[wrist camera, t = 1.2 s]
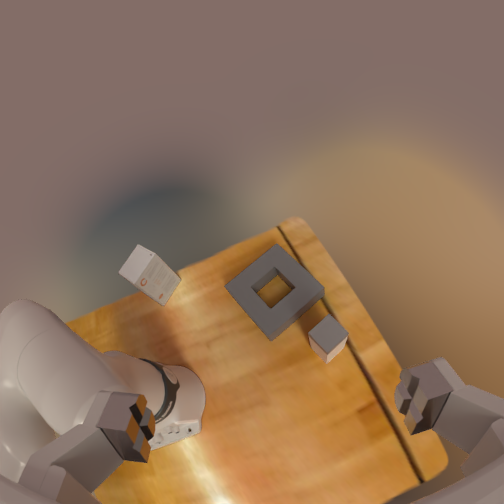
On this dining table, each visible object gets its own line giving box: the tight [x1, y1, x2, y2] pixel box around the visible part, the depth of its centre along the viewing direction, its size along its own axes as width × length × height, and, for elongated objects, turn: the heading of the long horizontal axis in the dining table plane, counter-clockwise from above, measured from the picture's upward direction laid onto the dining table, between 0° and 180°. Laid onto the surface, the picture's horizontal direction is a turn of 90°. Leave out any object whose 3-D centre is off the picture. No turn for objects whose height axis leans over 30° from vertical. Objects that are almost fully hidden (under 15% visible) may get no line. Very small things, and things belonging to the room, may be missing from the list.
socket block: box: [224, 243, 324, 341], centre depth 61 cm, size 15×15×4 cm
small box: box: [119, 244, 181, 306], centre depth 64 cm, size 8×6×13 cm
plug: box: [308, 314, 349, 364], centre depth 49 cm, size 5×5×12 cm
